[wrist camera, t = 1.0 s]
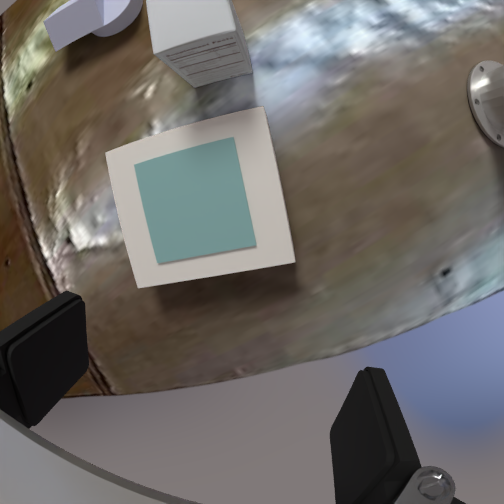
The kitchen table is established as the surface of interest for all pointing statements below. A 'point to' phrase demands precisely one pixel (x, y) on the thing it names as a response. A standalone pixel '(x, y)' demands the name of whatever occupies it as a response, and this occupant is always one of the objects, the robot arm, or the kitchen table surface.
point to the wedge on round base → (90, 19)
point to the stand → (202, 200)
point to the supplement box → (199, 39)
